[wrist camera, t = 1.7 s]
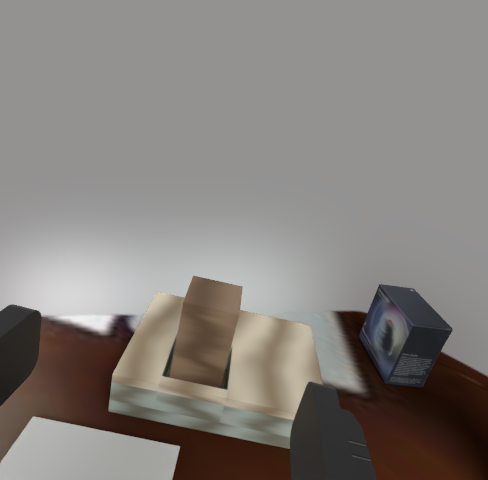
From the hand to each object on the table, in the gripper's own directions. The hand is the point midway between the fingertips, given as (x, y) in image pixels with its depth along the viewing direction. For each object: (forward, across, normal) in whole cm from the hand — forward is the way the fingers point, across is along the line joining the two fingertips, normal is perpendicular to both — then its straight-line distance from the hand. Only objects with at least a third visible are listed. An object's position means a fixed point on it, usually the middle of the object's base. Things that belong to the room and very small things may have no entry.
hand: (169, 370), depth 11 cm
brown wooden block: (+25, 0, +22) cm, 34 cm away
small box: (+41, -28, +22) cm, 54 cm away
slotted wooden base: (+29, -3, +23) cm, 37 cm away
